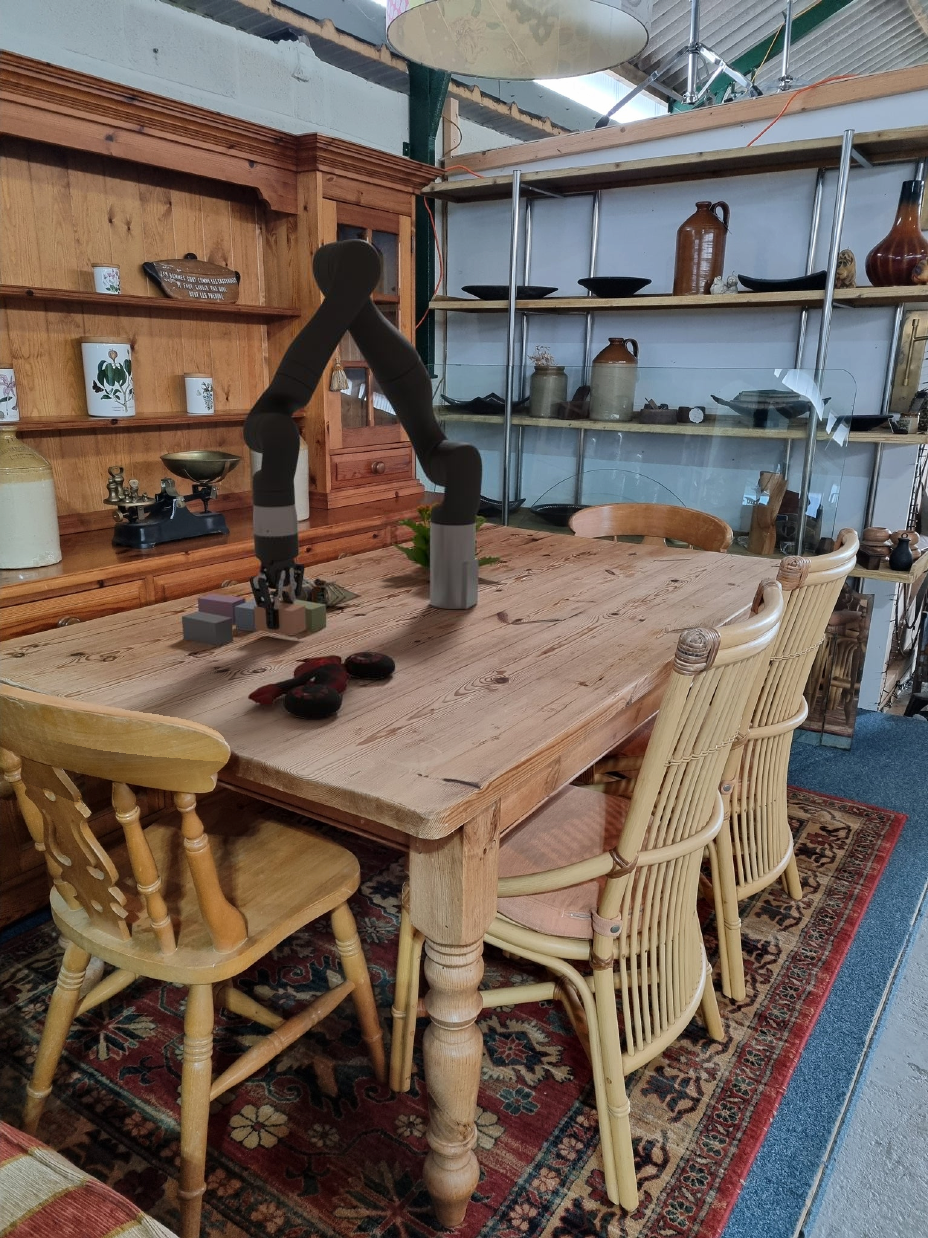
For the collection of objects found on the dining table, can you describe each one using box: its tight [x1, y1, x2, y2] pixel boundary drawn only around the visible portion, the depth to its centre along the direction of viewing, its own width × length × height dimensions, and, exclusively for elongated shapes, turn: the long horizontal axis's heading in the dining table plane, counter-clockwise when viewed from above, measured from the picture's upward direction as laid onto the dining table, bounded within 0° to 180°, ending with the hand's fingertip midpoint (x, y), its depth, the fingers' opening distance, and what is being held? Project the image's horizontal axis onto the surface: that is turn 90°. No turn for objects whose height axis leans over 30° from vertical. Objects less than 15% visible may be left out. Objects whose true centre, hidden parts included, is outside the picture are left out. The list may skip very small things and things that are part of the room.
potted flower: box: [391, 502, 504, 571], centre depth 205 cm, size 25×24×18 cm
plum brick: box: [197, 593, 247, 626], centre depth 167 cm, size 8×4×4 cm, turn 67°
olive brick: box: [293, 599, 327, 632], centre depth 164 cm, size 8×4×4 cm, turn 59°
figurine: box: [270, 577, 362, 608], centre depth 179 cm, size 20×6×17 cm
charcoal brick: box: [181, 610, 234, 647], centre depth 154 cm, size 8×4×4 cm, turn 61°
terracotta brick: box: [254, 601, 306, 636], centre depth 155 cm, size 8×4×4 cm, turn 67°
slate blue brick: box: [235, 597, 273, 632], centre depth 164 cm, size 8×4×4 cm, turn 158°
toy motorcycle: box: [247, 651, 396, 720], centre depth 131 cm, size 25×5×16 cm
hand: (280, 625), depth 155 cm, fingers closed on terracotta brick, 4 cm apart
